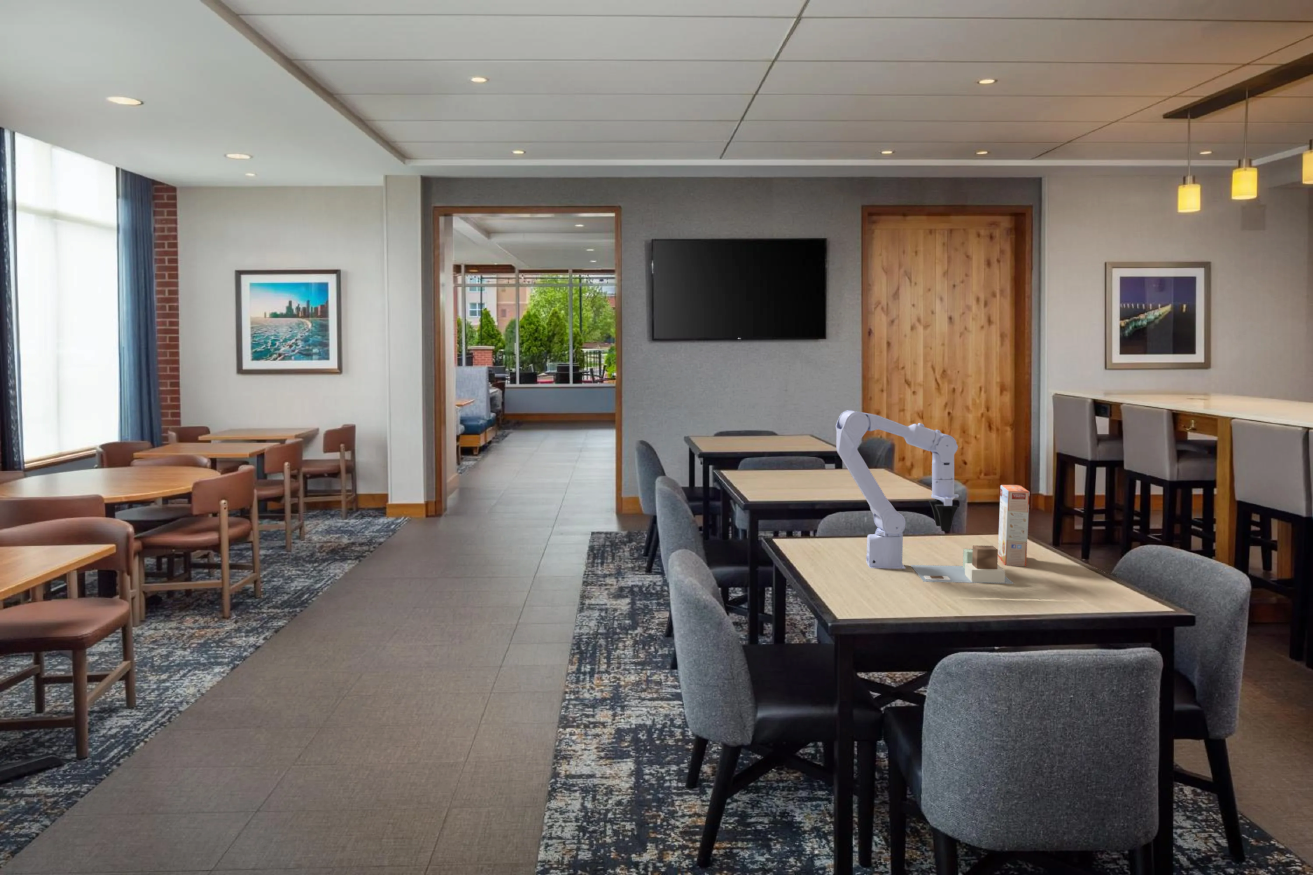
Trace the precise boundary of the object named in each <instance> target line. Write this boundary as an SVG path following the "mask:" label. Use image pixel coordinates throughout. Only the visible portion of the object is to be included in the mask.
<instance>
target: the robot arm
mask: <svg viewBox="0 0 1313 875" xmlns="http://www.w3.org/2000/svg"><path fill="white" fill-rule="evenodd" d="M835 430H836V438H835V440H836V452H837V454H838V456H839V457H840V459H841V460H842V462H843V464H844V466H845V467H846V469H847V471H848V472H849V474H850V476H851V477H852V478H853V480H854V482H855V484H856V485H857V487H858V489H859V491H860V492H861V493H862V495H863V497H864V499H865V500H866V502H867V503H868V505H869V509H870V511H871V513H872V516H873V522H874V524H875V526H876V527H877V528H876V529H875V533H874V534H873V533H872V534H871V533H870V534H867V537H866V558H865V561H866V564H867V566H868V567H869V569H894V570H896V569H897V570H900V569H901V570H906V566H905V565H904V564H903V556H904V555H903V553H904V552H903V548H904V547H903V546H904V545H903V544H904V538H903V537H904V530H905V529H906V525H907V523H906V518H905V517H904V515H903V514H901V513H899V511H897V510H896V509H895V507H894V506H893V505H892V503H891V502H890V501H889V500H888V498H887V497H886V495H885V494H884V492H883V490H882V488H881V487H880V485H879V483H878V482H877V480H876V479H875V477H874V475H873V474H872V472H871V470H870V469H869V467H868V465H867V463H866V462H865V460H864V458H863V457H862V455H861V454H860V452H859V450H858V448H859V444H860V442H861V439H862V438H863V437H864V435H865V434H866V433H867V431H869V432H873V431H877V430H880V431H882V432H886V433H890V434H893V435H896V436H899V437H902V438H903V439H904V441H905V442H906V444H907V445H910V446H913V447H916V448H919V449H921V450H924V451H928V452H931V453H932V455H931V456H932V462H931V464H932V465H931V472H932V473H931V483H932V484H931V496H930V497H931V498H932V499H929V500H928V502H929V505H930V506H931V510H932V513H933V516H934V518H933V519H934V521H935V522H934V523H935V526H936V527H940V529H941V532H950V531H951V529H952V525H953V521H954V520H953V519H954V516H955V514H956V512H957V510H958V505H956V504H955V505H953V500H954V499H956V498H957V499H958V498H959V496H960V495H959V494H958V493H955V454H956V453H957V451H958V449H959V446H958V444H957V440H956V439H955V438H954V437H953V436H952V435H949V434H946V433H942V432H941V430H939V429H935V430H934V429H931V428H928V427H926V426H925V424H923V423H921V422H918V423H912V424H910V425H904V424H902V423H900V422H896V421H895V420H891V419H888V418H887V417H883V416H881V415H878V414H875V413H867V412H862V411H856V410H853V409H848V410H844V411H842V412H841V413H840V415H839V417H838V419H837V421H836V424H835Z"/></svg>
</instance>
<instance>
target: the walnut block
mask: <svg viewBox="0 0 1313 875" xmlns="http://www.w3.org/2000/svg"><path fill="white" fill-rule="evenodd" d="M972 549H973V553H972V565H973V566H974V567H975V568H977V569H997V564H999V563H998V559H999V557H998V548H997V547H996V546H994V545H972Z"/></svg>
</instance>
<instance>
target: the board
mask: <svg viewBox="0 0 1313 875" xmlns="http://www.w3.org/2000/svg"><path fill="white" fill-rule="evenodd" d="M910 566H911V568H913V570H914V571H915V573H916V574H917V576H918V577H919V578H920V579H921V580H922V582H924V583H956V584H957V583H961V584H962V583H963V584H964V583H967V584H1007V585H1009V584H1010V585H1012V584H1013V585H1014V582H1013V581H1012V580H1010V579H1009V578H1008V577H1007V576H1006V575H1005V582H972V581H971V580H970V579H969V578H968V577H967V576H966V575H965V569H964V568H963V565H939V564H938V565H934V564H933V565H930V564H928V565H927V564H910Z"/></svg>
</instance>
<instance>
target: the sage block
mask: <svg viewBox="0 0 1313 875" xmlns="http://www.w3.org/2000/svg"><path fill="white" fill-rule="evenodd" d="M962 550H963V553H962V554H963V556H962V557H963V558H962V566H963V568H964V569H965V563H972V553H973V548H963V549H962Z"/></svg>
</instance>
